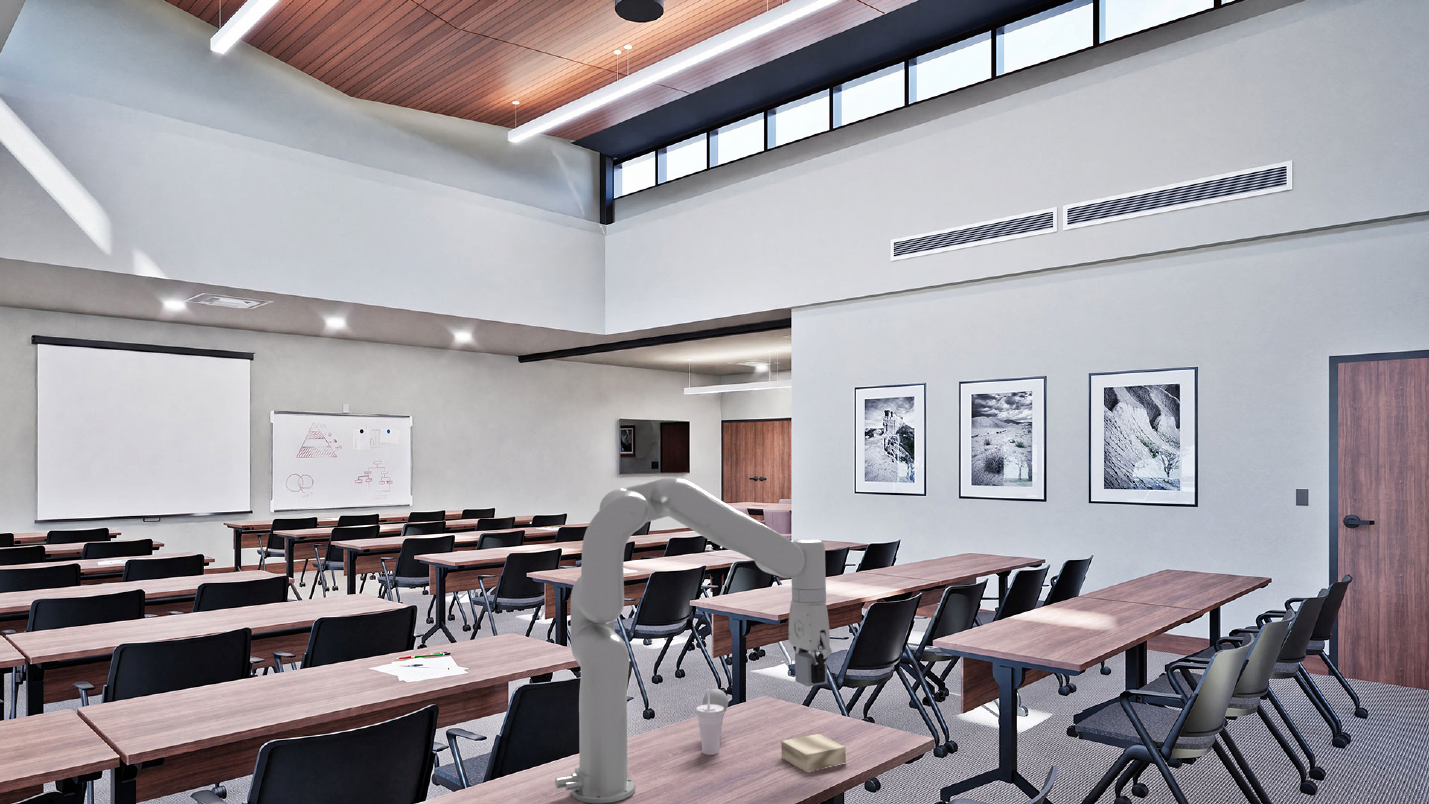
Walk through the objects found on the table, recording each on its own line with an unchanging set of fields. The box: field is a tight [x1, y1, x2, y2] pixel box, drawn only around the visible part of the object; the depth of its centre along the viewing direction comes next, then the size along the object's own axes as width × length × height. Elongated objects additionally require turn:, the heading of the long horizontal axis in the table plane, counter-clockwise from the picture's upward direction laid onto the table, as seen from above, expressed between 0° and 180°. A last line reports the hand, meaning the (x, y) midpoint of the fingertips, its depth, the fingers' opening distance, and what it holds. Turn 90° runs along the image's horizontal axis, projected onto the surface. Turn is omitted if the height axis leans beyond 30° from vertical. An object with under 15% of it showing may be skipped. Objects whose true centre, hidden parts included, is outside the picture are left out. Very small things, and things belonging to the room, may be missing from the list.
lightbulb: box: [702, 688, 729, 722], centre depth 201 cm, size 6×6×11 cm
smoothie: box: [695, 688, 725, 756], centre depth 190 cm, size 6×6×14 cm
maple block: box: [780, 733, 847, 773], centre depth 184 cm, size 10×10×4 cm
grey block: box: [794, 651, 828, 687], centre depth 185 cm, size 5×5×6 cm
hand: (810, 678), depth 185 cm, fingers closed on grey block, 5 cm apart
